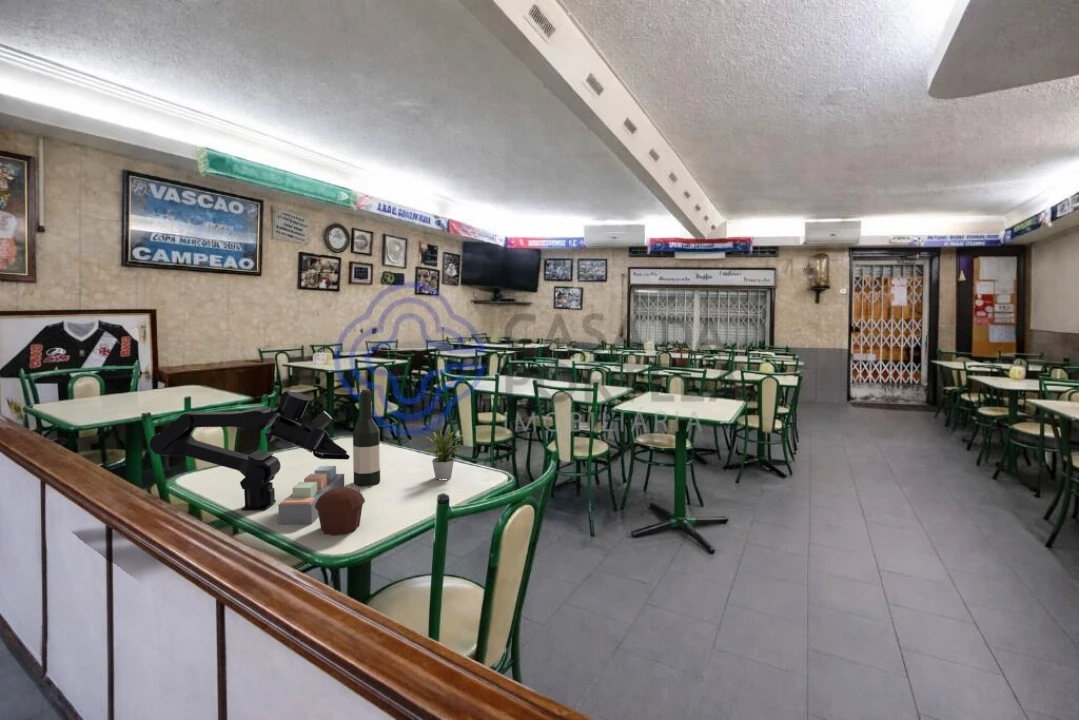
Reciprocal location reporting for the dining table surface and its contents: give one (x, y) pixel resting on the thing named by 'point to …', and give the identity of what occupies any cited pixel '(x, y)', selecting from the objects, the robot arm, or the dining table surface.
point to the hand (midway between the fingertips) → (347, 455)
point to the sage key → (305, 490)
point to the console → (305, 505)
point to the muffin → (340, 510)
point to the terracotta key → (317, 480)
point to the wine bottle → (366, 445)
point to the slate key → (327, 471)
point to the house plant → (443, 455)
